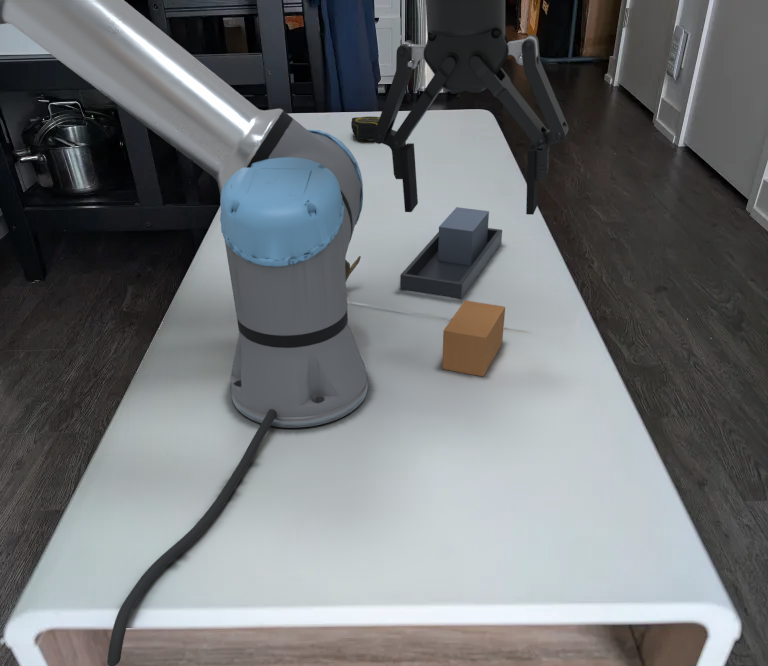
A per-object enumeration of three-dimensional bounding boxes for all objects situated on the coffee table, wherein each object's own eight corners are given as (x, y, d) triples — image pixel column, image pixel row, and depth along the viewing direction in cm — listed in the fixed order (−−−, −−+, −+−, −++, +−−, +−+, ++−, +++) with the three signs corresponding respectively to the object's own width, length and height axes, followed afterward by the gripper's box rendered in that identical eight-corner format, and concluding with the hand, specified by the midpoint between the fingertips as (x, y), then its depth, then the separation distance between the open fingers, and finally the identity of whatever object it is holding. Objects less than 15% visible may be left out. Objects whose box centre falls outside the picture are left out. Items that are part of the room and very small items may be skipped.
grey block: (471, 265, 113) (472, 231, 110) (437, 260, 115) (438, 226, 112) (486, 244, 119) (489, 211, 116) (455, 240, 120) (456, 206, 117)
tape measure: (384, 133, 165) (384, 113, 162) (387, 142, 159) (387, 122, 157) (351, 134, 164) (350, 115, 162) (353, 144, 159) (352, 124, 157)
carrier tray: (461, 302, 106) (461, 284, 104) (400, 292, 108) (400, 274, 107) (501, 246, 120) (502, 229, 118) (446, 238, 122) (446, 222, 121)
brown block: (483, 376, 92) (486, 337, 88) (442, 369, 93) (443, 330, 90) (502, 344, 97) (505, 306, 94) (462, 337, 99) (464, 300, 95)
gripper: (606, -34, 74) (589, 198, 87) (353, -17, 81) (374, 195, 94) (597, -21, 68) (580, 224, 82) (327, -4, 75) (353, 219, 89)
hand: (470, 209), depth 88 cm, fingers open, 13 cm apart
